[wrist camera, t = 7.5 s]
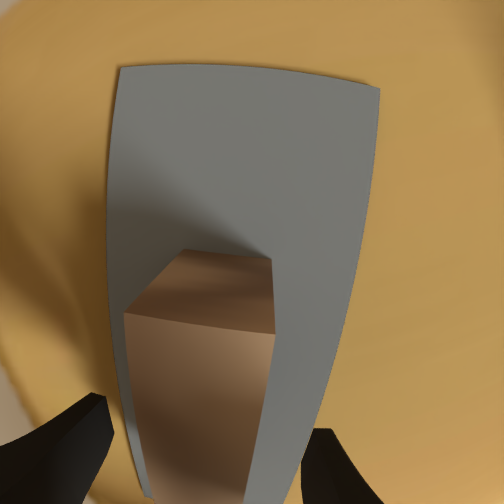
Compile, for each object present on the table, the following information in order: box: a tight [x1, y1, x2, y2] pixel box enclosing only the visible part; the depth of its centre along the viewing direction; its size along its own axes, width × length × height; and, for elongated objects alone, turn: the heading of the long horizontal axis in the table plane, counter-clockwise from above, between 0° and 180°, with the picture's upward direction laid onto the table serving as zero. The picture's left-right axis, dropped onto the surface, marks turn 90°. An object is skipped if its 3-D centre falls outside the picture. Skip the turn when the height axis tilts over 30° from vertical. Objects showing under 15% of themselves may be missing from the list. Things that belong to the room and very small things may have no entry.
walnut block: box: [124, 249, 276, 504], centre depth 10 cm, size 3×11×5 cm, turn 174°
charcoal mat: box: [106, 64, 380, 504], centre depth 12 cm, size 24×9×1 cm, turn 174°
